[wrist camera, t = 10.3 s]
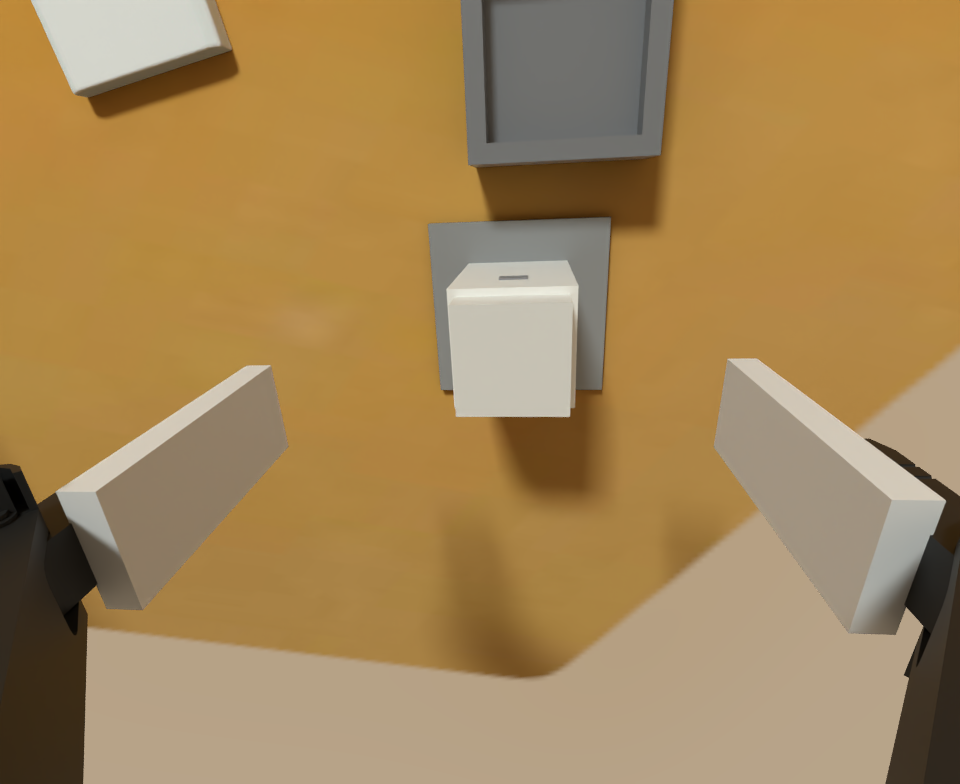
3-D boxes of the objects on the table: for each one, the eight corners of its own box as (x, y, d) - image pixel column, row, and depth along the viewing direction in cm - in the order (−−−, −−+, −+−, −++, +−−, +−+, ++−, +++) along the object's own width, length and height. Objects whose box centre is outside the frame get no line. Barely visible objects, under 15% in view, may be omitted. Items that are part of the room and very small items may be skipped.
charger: (473, 356, 27) (448, 423, 20) (468, 262, 26) (439, 295, 18) (565, 355, 27) (577, 424, 19) (567, 258, 25) (582, 291, 17)
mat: (441, 387, 29) (440, 390, 28) (429, 223, 25) (428, 224, 25) (600, 387, 28) (601, 389, 27) (609, 216, 24) (611, 216, 24)
